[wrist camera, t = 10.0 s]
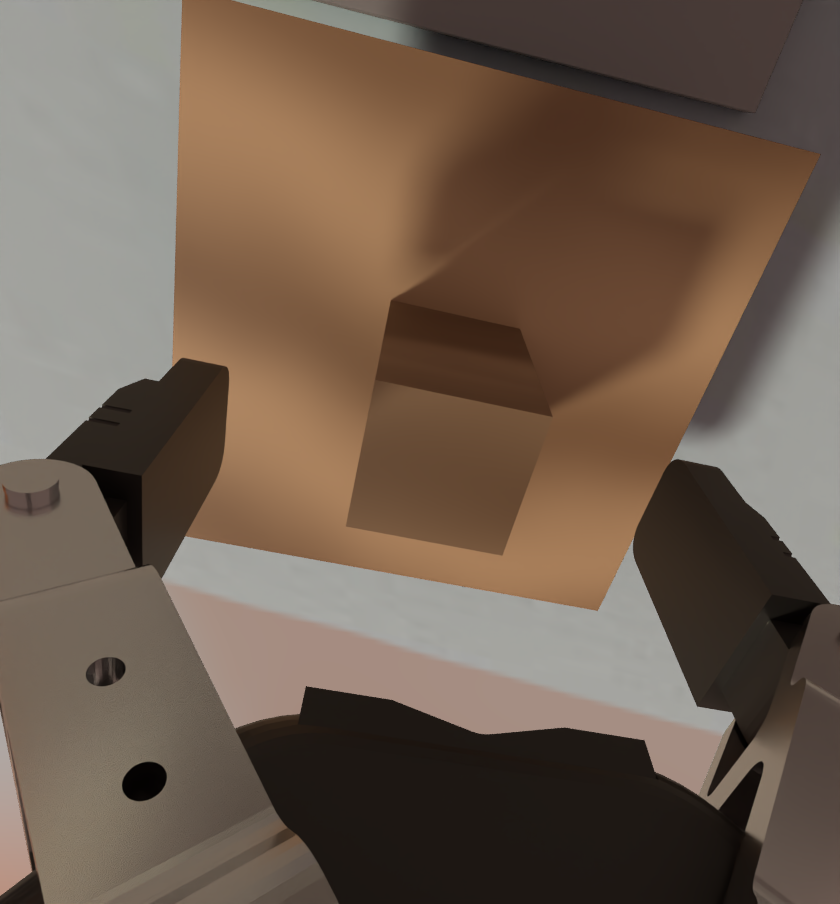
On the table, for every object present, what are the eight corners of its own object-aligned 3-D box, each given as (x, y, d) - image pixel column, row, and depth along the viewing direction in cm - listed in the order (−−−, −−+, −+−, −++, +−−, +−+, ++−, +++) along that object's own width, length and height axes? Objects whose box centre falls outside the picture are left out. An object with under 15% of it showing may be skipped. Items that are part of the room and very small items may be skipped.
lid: (196, -7, 12) (50, -69, 7) (799, 150, 13) (997, 182, 9) (178, 516, 18) (91, 660, 14) (591, 591, 19) (642, 748, 15)
